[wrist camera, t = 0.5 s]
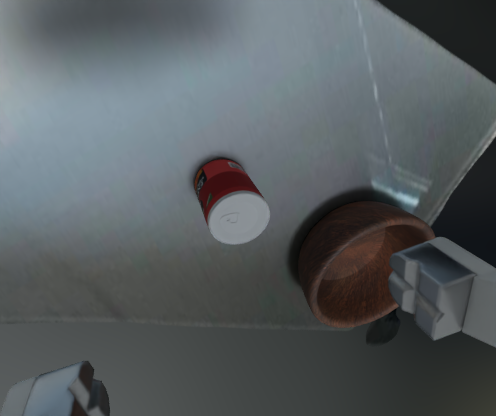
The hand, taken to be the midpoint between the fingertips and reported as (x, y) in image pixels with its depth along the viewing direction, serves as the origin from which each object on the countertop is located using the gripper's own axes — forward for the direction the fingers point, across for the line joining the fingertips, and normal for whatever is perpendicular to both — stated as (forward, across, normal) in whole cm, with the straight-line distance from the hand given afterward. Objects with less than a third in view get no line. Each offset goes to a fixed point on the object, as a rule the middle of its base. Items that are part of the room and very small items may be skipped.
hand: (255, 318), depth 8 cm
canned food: (+39, -5, +12) cm, 41 cm away
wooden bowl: (+41, -26, +33) cm, 59 cm away
